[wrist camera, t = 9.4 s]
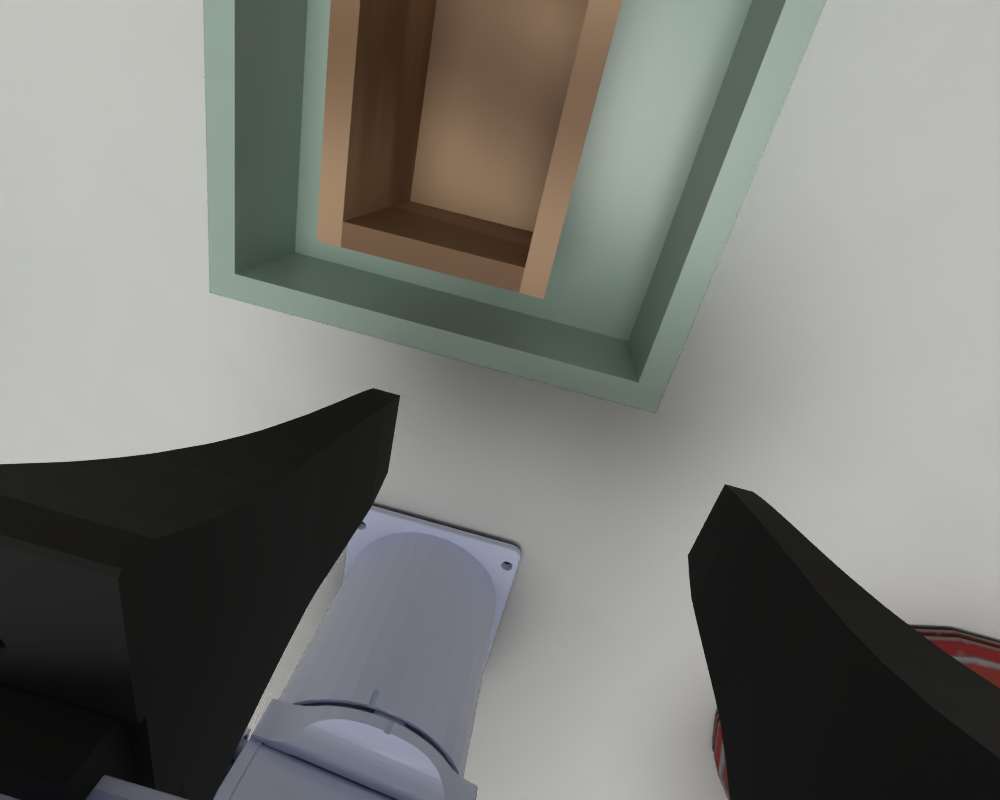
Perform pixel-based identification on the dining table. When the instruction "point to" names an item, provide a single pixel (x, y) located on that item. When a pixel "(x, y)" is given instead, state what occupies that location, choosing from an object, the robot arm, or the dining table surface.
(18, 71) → the dining table surface
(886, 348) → the dining table surface
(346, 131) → the walnut crate
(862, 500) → the dining table surface
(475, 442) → the dining table surface
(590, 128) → the sage crate
